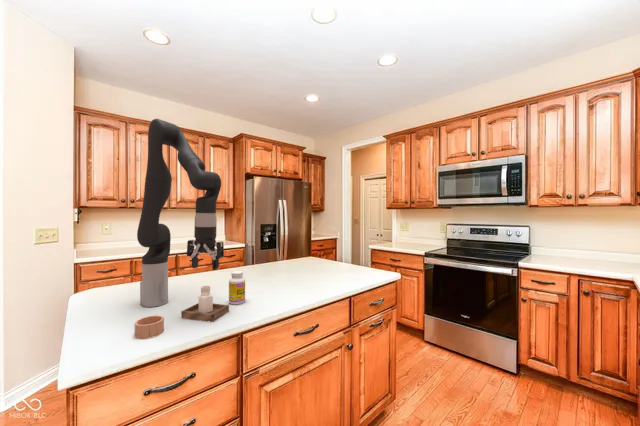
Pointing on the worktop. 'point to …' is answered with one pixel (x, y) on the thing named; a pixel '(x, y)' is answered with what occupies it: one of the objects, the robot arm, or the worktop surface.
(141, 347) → the worktop surface
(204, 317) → the tray
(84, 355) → the worktop surface
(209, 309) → the salt shaker
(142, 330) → the collar
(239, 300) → the supplement bottle
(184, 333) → the worktop surface
